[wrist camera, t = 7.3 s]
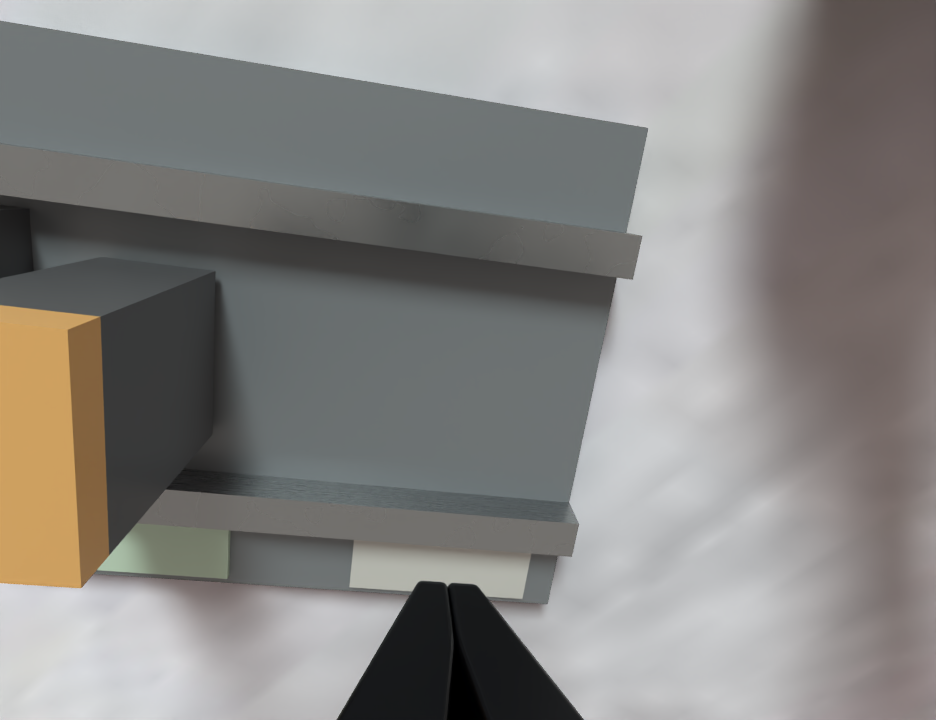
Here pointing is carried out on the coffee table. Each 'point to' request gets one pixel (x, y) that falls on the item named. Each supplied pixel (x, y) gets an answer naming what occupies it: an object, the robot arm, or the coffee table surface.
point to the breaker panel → (339, 302)
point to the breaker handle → (96, 406)
